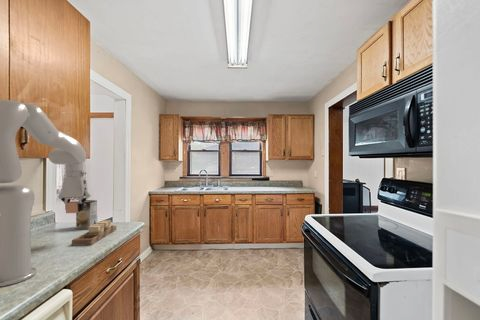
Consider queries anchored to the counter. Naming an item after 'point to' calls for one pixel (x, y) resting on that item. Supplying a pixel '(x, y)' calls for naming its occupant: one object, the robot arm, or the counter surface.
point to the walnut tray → (92, 237)
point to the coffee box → (87, 215)
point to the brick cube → (72, 207)
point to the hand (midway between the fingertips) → (74, 211)
